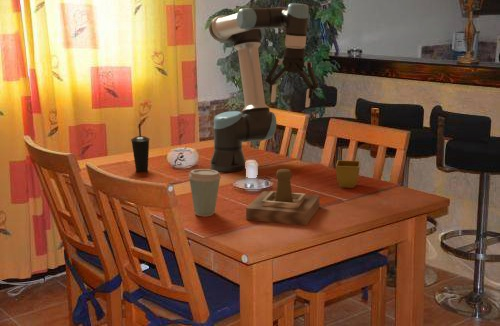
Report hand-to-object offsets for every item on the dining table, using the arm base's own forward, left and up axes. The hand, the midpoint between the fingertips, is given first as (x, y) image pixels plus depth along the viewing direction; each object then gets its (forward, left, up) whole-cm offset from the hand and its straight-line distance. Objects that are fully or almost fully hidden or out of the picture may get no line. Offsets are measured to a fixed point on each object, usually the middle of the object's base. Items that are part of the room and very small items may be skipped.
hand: (290, 104), depth 252 cm
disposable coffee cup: (-18, -42, -31) cm, 55 cm away
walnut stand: (+7, -34, -31) cm, 46 cm away
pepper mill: (+7, -34, -27) cm, 44 cm away
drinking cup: (-64, +3, -31) cm, 72 cm away
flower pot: (+22, +4, -31) cm, 38 cm away
